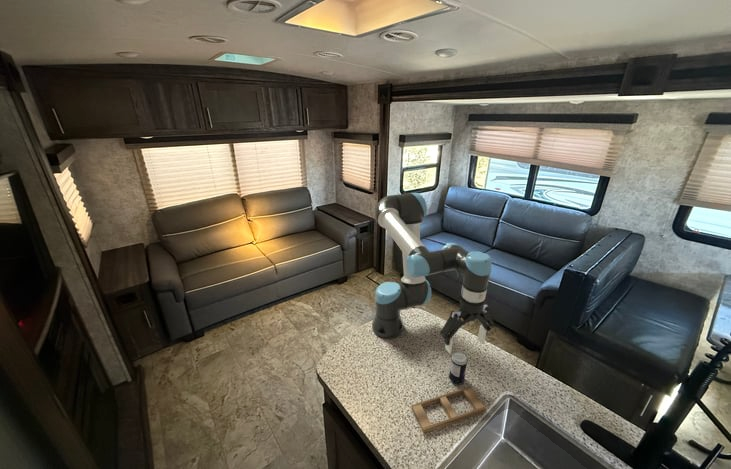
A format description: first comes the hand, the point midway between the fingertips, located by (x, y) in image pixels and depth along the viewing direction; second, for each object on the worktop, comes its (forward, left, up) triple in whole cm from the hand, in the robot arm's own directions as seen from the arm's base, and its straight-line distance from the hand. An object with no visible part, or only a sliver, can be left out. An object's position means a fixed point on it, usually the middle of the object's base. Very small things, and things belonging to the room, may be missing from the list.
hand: (464, 345), depth 102 cm
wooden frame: (+8, -10, -19) cm, 23 cm away
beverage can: (-2, 0, -20) cm, 20 cm away
